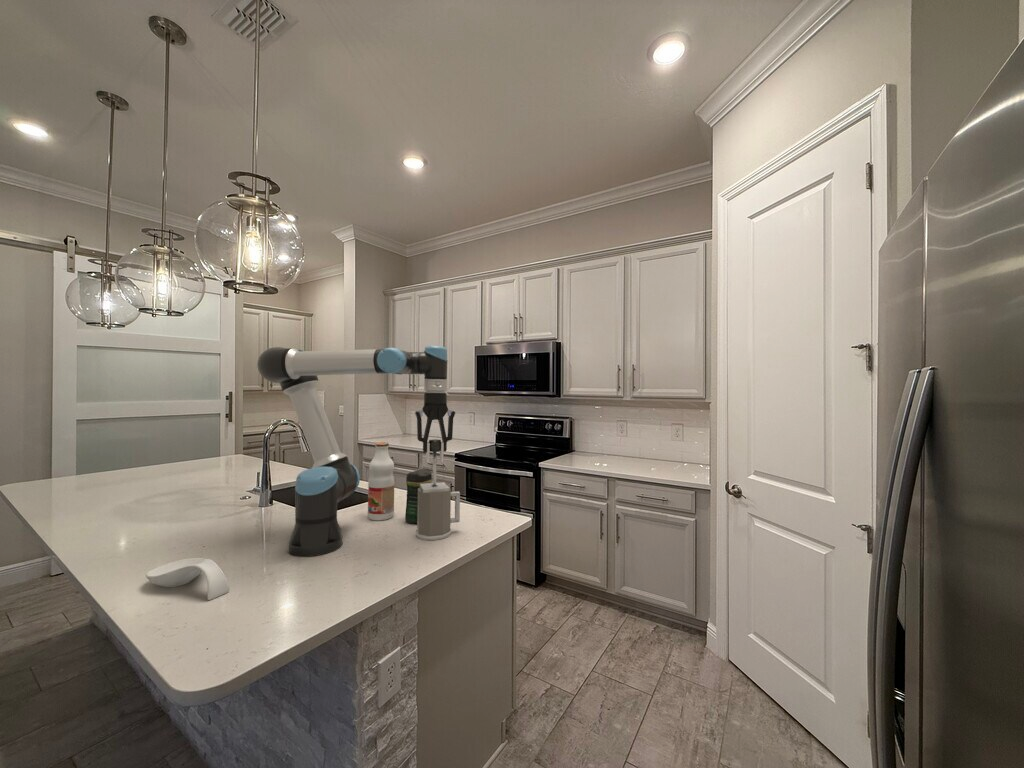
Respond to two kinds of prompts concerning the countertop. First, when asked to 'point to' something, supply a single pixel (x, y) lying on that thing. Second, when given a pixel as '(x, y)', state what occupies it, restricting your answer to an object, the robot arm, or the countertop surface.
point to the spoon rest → (190, 575)
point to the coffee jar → (415, 492)
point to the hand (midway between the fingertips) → (434, 461)
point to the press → (436, 511)
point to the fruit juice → (381, 484)
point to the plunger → (434, 456)
